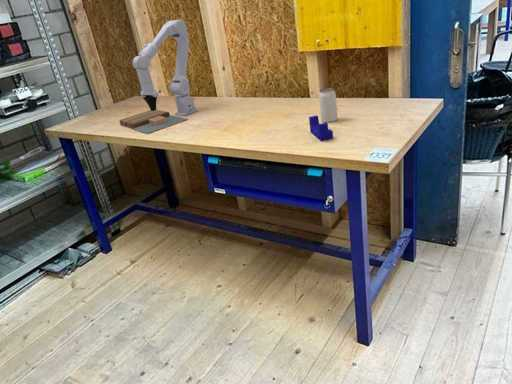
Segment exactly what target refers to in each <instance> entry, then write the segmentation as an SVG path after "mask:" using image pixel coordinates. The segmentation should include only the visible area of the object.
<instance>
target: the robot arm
mask: <svg viewBox="0 0 512 384" xmlns="http://www.w3.org/2000/svg"><path fill="white" fill-rule="evenodd" d="M187 25H188V24H186V23H185V22H184V20H182V19H180V18H179V19H175V20H173V19H172V20H167V21H166V22H165V24H163V25H162V27H161V29H160V30H159V31H158V33H157V35H156V36H155V37H154V39H153V41H152V42H148V43H145V44H144V45H143V49H142V50H141V51H140V52H138V55H137V56H135V57H134V58H133V59H132V64H131V65H132V67H133V68H134V69H135V70H136V74H137V77H138V81H139V85H140V88H141V90H140V96H143V97H142V99H143V100H144V101H145V102H146V104H147V106H148V107H149V109H150V110H151V111H155V110H157V99H158V97H159V96H160V95H159V92H158V91H156V90H155V86H154V83H153V80H152V79H153V78H152V76H151V72H150V69H149V67H150V65H151V61H152V60H153V59H154V57H155V56H156V55H157V54H158V52H159V50H158V48H159V47H160V46H161V45H162V44H163V42H164V41H165V40H166V39H167V38H168V37H170V36H171V38H173V39H174V40H175V41H176V42H177V46H176V56H175V57H176V59H175V71H174V76H173V77H172V79H171V80H172V81H171V83H170V84H169V91H170V93H171V94H173V96H174V101H175V105H176V108H177V109H176V110H177V112H175V113H174V114H175V115H180V116H188V115H190V114H194V113H195V112H198V110H197V109H196V107H195V102H194V99H193V97H191V95H190V96H189V93H190V91H191V88H190V87H191V86H190V80H189V79H188V77H187V71H188V69H187V67H188V58H189V56H188V55H189V47H190V38H189V34H188V26H187Z"/></svg>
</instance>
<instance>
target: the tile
mask: <svg viewBox="0 0 512 384" xmlns="http://www.w3.org/2000/svg"><path fill="white" fill-rule="evenodd" d="M148 120H149V123H150V124H153V125H158V124H161V123H164V122H167V121H166V117H162V116H157V117H154V118H151V119H148Z"/></svg>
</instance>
